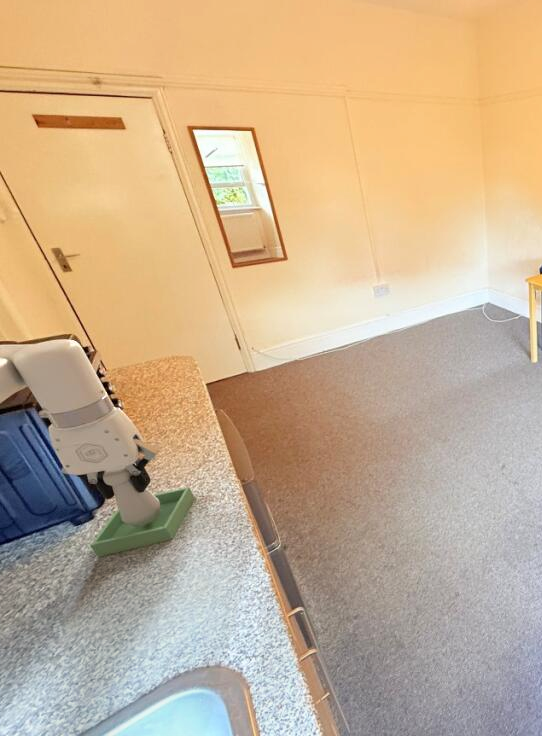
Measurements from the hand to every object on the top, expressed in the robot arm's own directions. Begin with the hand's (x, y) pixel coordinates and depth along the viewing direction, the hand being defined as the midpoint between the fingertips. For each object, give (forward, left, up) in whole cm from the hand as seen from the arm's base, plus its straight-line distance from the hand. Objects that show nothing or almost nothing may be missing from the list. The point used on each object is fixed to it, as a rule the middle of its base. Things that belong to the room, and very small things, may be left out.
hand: (129, 489), depth 75 cm
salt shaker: (0, 0, -8) cm, 8 cm away
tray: (0, 0, -9) cm, 9 cm away
